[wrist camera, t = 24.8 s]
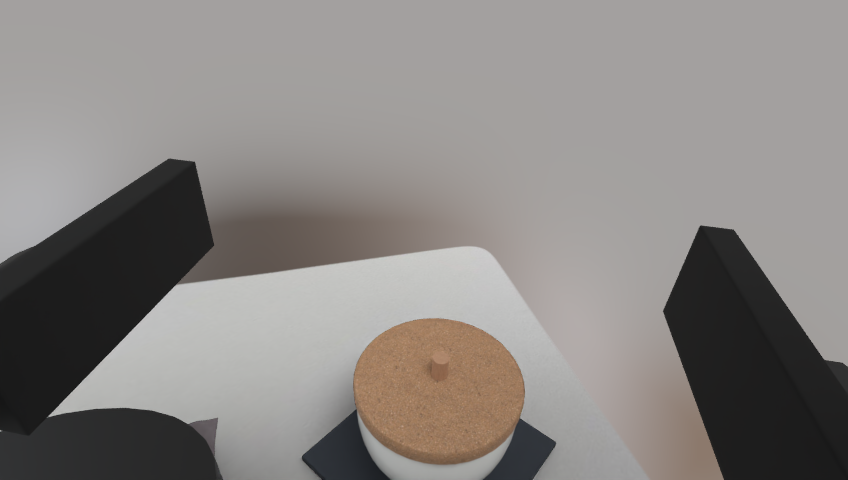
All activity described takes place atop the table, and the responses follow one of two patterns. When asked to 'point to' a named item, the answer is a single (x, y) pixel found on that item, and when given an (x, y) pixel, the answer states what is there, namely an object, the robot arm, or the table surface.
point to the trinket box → (437, 400)
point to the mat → (360, 476)
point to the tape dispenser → (111, 448)
